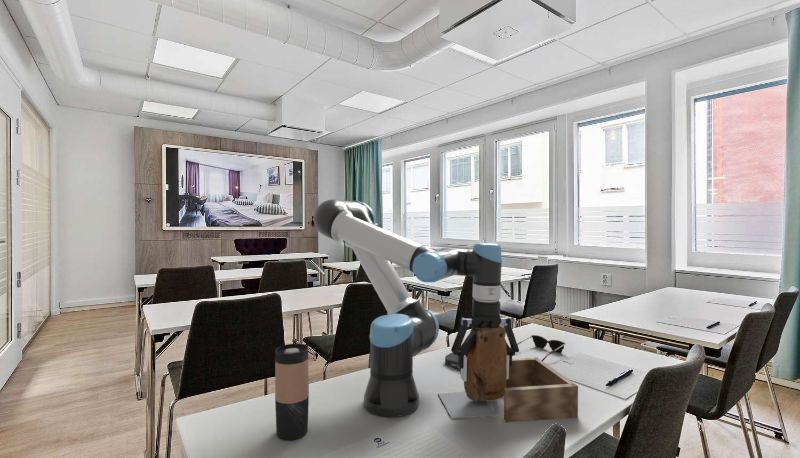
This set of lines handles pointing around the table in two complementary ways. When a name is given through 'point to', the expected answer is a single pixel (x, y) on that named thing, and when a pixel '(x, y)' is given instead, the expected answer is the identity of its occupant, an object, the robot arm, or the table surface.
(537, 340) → the sunglasses
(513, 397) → the open box
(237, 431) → the table surface
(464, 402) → the mat
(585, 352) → the table surface
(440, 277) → the robot arm
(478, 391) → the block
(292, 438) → the travel mug
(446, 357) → the media streaming box
